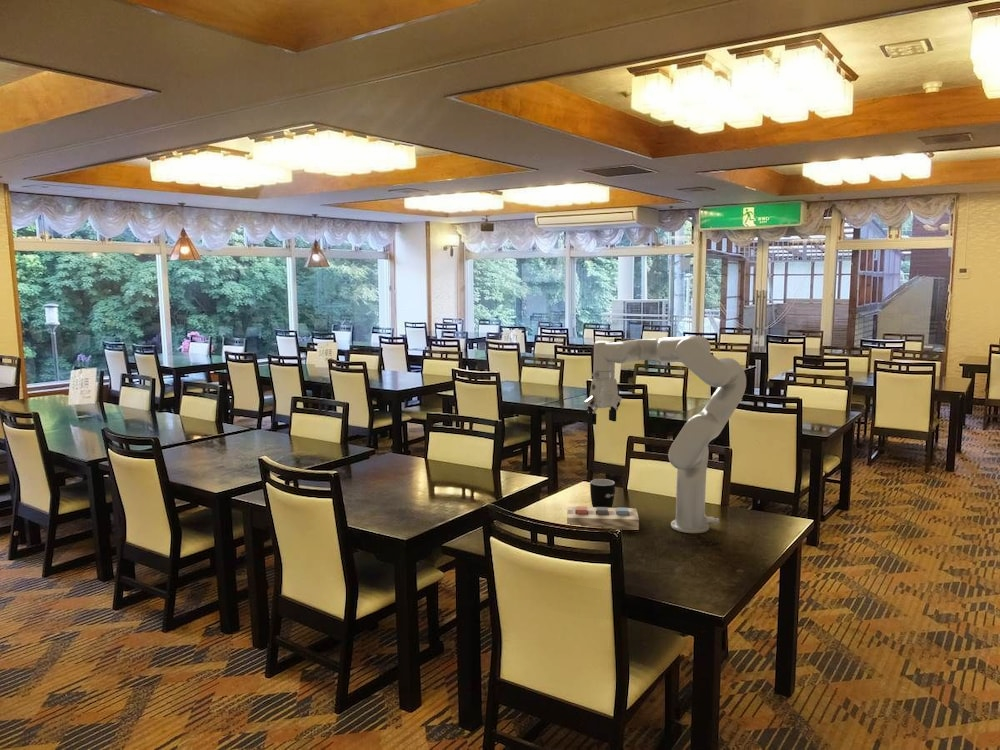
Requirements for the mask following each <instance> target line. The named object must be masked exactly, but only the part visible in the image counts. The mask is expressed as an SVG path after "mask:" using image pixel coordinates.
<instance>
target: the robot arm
mask: <svg viewBox="0 0 1000 750" xmlns="http://www.w3.org/2000/svg"><path fill="white" fill-rule="evenodd" d="M634 361H635V362H636V361H638V362H639V361H658V362H660V363H665V364H666V363H682V364H683V365H684V366H685V367H686V369H688V370H690V371H691V372H692V373H693V375H695V376H697V377H698V378H699V380H701V381H702V382H704V384H706V385H708V386H710V387H712V388H716V390H715V391H714V392H713V394H712V395H711V396H710V398H709V399H708V401H707V403H706V404H705V406H704V407H703V408H702V410H701V411H699V412H698V413H696V414H694V415H693V416H691V417H690V418H688V420H687V421H686V422H685V423H684V425H683V427H682V428H681V430H680V431H679V433H678V434H677V436H675V439H674V441H673V442H672V443H671V445H670V447H669V449H668V453H667V456H668V460H669V463H670V465H671V466H672V467H674V468H675V469H677V472H676V487H675V488H676V491H675V496H676V497H675V498H676V499H675V519H673V520H672V521H671V522H670V526H671V528H672V529H673V530H675V531H677V532H681V533H685V534H686V533H687V534H702V533H705V532H707V531H709V530H710V524H711V525H719V524H720V518H715V516H708V515H706V489H707V488H706V487H707V486H706V485H707V471H708V470H707V469H708V461H709V453H710V452H709V444H710V442H712V441H713V440H714V439H716V438H717V437H718V436H719V435H720V434H721V433H722V431H723V429H724V428H725V426H726V424H727V423H728V421H729V420H730V418H731V417H732V415H733V413H734V412H735V411H736V408H737V407H738V405H739V404H740V402H741V400H742V399H743V396H744V395H745V391H746V388H747V375H746V373H745V370H744V368H743V366H742V365H741V364H740V362H738V361H737V360H735V359H734V358H730V357H723V358H722V357H721V358H719V359H718V358H717V357H716V356H715V355H713V354H712V352H711V344H710V342H709V340H708V339H707V338H706V337H704V336H700V335H687V336H685V335H684V336H670V337H669V336H668V337H658V338H644V339H642V338H641V339H628V340H623V341H617V342H615V341H613V340H605V339H602V340H596V341H595V342H594V344H593V371H592V373H591V376H592V379H591V383H590V384H591V385H590V391H589V397H588V398H586V400H584V401H583V404H584V406H585V409H586V411H587V413H588V424H590V425H594V426H595V425H597V415H598V414H597V411H598V409H604V408H609V409H608V420H609V421H611V422H617V411H618V409H619V407H620V406H621V401H622V400H623V398H622V396H620V395H619V391H618V388H619V387H618V381H617V378H616V377H615V376H616V375H615V373H616V372H615V371H616V370H615V369H616V364H627V363H630V362H634Z"/></svg>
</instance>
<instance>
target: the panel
mask: <svg viewBox="0 0 1000 750" xmlns="http://www.w3.org/2000/svg"><path fill="white" fill-rule="evenodd" d="M586 507H587V514H577V506H567V511H566V525H567V524H570V525H581V526H589V527H601V528H612V529H619V530H618V531H620V530H621V531H622V529H623V530H640V517H639V514H638V509H637V508H632V507H627V508H628V511H629V512H628V516H624V515H617V507H612V508H608V515H597V507H593V506H586ZM622 532H623V531H622Z"/></svg>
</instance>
